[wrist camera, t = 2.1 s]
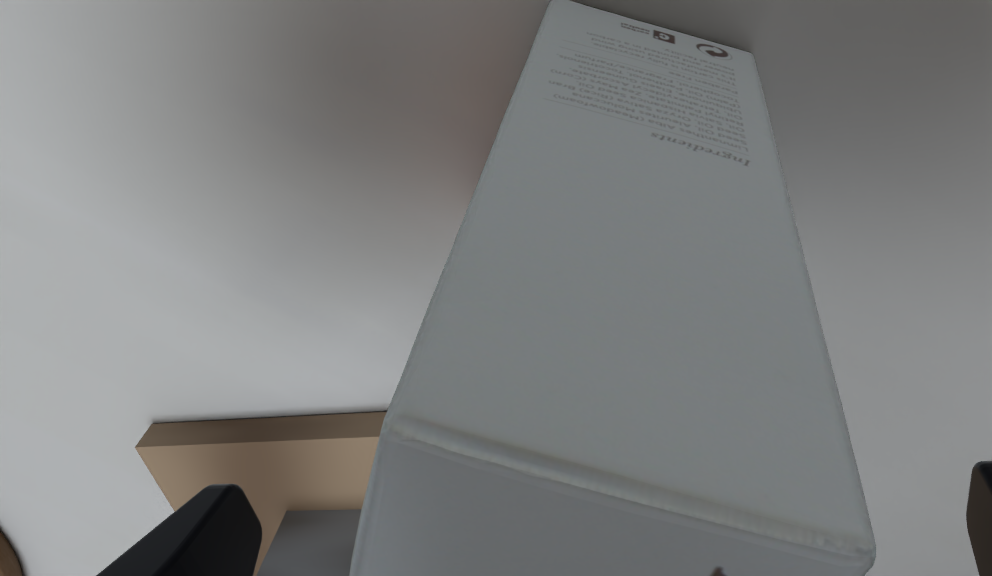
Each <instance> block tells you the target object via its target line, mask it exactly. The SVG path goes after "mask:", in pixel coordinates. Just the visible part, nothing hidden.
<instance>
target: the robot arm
mask: <svg viewBox="0 0 992 576" xmlns="http://www.w3.org/2000/svg"><path fill="white" fill-rule="evenodd" d="M966 520H967V528H968V533H969V537H970V541H971V545H972V549H973V553H974V556H975V560H976V564H977V568H978V572H979V575H980V576H992V461H981V462H978V463H976V464H975V465H974V467H973V469H972V474H971V482H970V489H969V496H968V504H967V512H966ZM261 541H262V527H261V523H260V520H259V519H258V517H257V515H256V513H255V511H254V509H253V508H252V506H251V504H250V502H249V500H248V498H247V496H246V495H245V493H244V491H243V489H242V488H241V487H240V486H238V485H237V484H212V485H209V486H206V487H205V488H204V489H202V490H201V491H200V492H198V493H197V494H196V495H195V496H194V497H192V498H191V499H190V500H189V501H187V502H186V503H185V504H184V505H183V506H181V507H180V508H179V509H178V510H176V511H175V512H174V513H173V514H171V515H170V516H169V517H168V518H167V519H165V520H164V521H163V522H162V523H160V524H159V525H158V526H157V527H155V528H154V529H153V530H152V531H151V532H149V533H148V534H147V535H146V536H144V537H143V538H142V539H141V540H140V541H138V542H137V543H136V544H135V545H133V546H132V547H131V548H130V549H128V550H127V551H126V552H125V553H124V554H122V555H121V556H120V557H119V558H117V559H116V560H115V561H114V562H112V563H111V564H110V565H109V566H108V567H106V568H105V569H104V570H103V571H101V572H100V573H99V574H98V575H97V576H253V574H254V570H255V566H256V562H257V558H258V554H259V550H260V546H261Z"/></svg>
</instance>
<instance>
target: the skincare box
mask: <svg viewBox="0 0 992 576" xmlns="http://www.w3.org/2000/svg"><path fill="white" fill-rule="evenodd" d="M875 557H876V543H875V539H874V535H873V531H872V527H871V523H870V518H869V514H868V510H867V505H866V501H865V497H864V493H863V489H862V485H861V481H860V477H859V473H858V469H857V465H856V461H855V457H854V453H853V449H852V445H851V441H850V437H849V432H848V428H847V424H846V420H845V416H844V412H843V408H842V404H841V400H840V396H839V392H838V388H837V385H836V381H835V377H834V373H833V369H832V365H831V362H830V358H829V354H828V350H827V346H826V342H825V338H824V334H823V330H822V326H821V322H820V318H819V315H818V311H817V308H816V303H815V299H814V295H813V291H812V286H811V282H810V278H809V274H808V270H807V267H806V263H805V259H804V254H803V250H802V246H801V243H800V239H799V235H798V231H797V227H796V223H795V218H794V214H793V210H792V206H791V202H790V198H789V194H788V190H787V187H786V183H785V179H784V175H783V171H782V167H781V163H780V159H779V154H778V151H777V146H776V142H775V138H774V134H773V130H772V126H771V121H770V117H769V113H768V109H767V105H766V101H765V97H764V93H763V89H762V85H761V81H760V78H759V74H758V70H757V66H756V62H755V58H754V55H753V54H751V53H750V52H746V51H742V50H739V49H735V48H732V47H728V46H725V45H721V44H718V43H714V42H711V41H707V40H704V39H700V38H697V37H694V36H690V35H687V34H683V33H680V32H676V31H673V30H669V29H666V28H662V27H659V26H655V25H652V24H648V23H644V22H641V21H637V20H633V19H630V18H627V17H624V16H620V15H617V14H614V13H610V12H607V11H603V10H599V9H596V8H592V7H589V6H586V5H583V4H580V3H576V2H573V1H570V0H551V1H550V3H549V4H548V7H547V10H546V12H545V15H544V17H543V20H542V22H541V25H540V27H539V30H538V32H537V35H536V38H535V40H534V43H533V45H532V48H531V51H530V53H529V56H528V59H527V62H526V64H525V67H524V69H523V71H522V73H521V76H520V78H519V81H518V83H517V86H516V88H515V91H514V93H513V96H512V98H511V100H510V102H509V105H508V107H507V110H506V112H505V115H504V117H503V120H502V123H501V125H500V128H499V131H498V133H497V136H496V138H495V141H494V144H493V146H492V149H491V151H490V154H489V156H488V159H487V161H486V164H485V166H484V169H483V171H482V174H481V176H480V179H479V182H478V184H477V187H476V189H475V192H474V194H473V197H472V199H471V201H470V204H469V206H468V209H467V212H466V214H465V217H464V219H463V222H462V224H461V227H460V229H459V232H458V234H457V236H456V239H455V242H454V244H453V247H452V250H451V252H450V255H449V257H448V259H447V262H446V264H445V266H444V269H443V271H442V274H441V276H440V279H439V281H438V284H437V286H436V289H435V291H434V294H433V296H432V299H431V301H430V304H429V306H428V309H427V311H426V314H425V317H424V319H423V322H422V324H421V327H420V329H419V332H418V334H417V337H416V340H415V342H414V345H413V347H412V350H411V353H410V355H409V358H408V361H407V363H406V366H405V369H404V371H403V374H402V376H401V379H400V381H399V384H398V386H397V389H396V391H395V394H394V396H393V398H392V401H391V403H390V406H389V408H388V410H387V413H386V415H385V418H384V421H383V425H382V429H381V433H380V437H379V441H378V445H377V449H376V453H375V457H374V461H373V465H372V469H371V473H370V477H369V481H368V485H367V489H366V493H365V498H364V502H363V506H362V510H361V515H360V520H359V525H358V530H357V535H356V540H355V545H354V550H353V555H352V560H351V567H350V574H349V576H864V575H865V574H866V573H867V572H868V571H869V569H870V568H871V567H872V566H873V564H874V561H875Z"/></svg>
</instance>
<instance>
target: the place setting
mask: <svg viewBox="0 0 992 576" xmlns="http://www.w3.org/2000/svg"><path fill="white" fill-rule="evenodd" d="M0 576H22V571H21V567H20V564H19V562H18V559H17V557H16V555H15V553H14V551H13V549H12V548H11V546H10V544H9V543H8V541H7V539H6V538H5V537H4V535H3V534H2V533H1V532H0Z"/></svg>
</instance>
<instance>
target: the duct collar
mask: <svg viewBox="0 0 992 576" xmlns="http://www.w3.org/2000/svg"><path fill="white" fill-rule="evenodd" d="M386 413H387V412H372V413H353V414H333V415H314V416H295V417H276V418H256V419H237V420H218V421H198V422H179V423H160V424H151V426H150V427H149V428H148V430H147V431H146V433H145V434H144V435H143V437H142V438H141V440H140V441H139V442H138V444H137V445H136V447H135V448H136V450H137V452H138V453H139V455H140V456H141V458H142V460H143V461H144V463H145V464H146V466H147V468H148V469H149V471H150V472H151V474H152V476H153V477H154V479H155V481H156V482H157V484H158V485H159V487H160V489H161V490H162V492H163V493H164V495H165V497H166V498H167V500H168V501H169V503H170V505H171V506H172V508H173V509H174V511H176V510H178V509H179V508H180V507H181V506H183V505H184V504H185V503H186V502H187V501H189V500H190V499H191V498H192V497H194V496H195V495H196V494H197V493H198V492H200V491H201V490H202V489H204V488H205V487H206V486H209V485H212V484H237V485H238V486H240V487H241V488H242V489H243V491H244V493H245V495H246V496H247V498H248V500H249V502H250V504H251V506H252V508H253V509H254V511H255V513H256V515H257V517H258V519H259V520H260V523H261V527H262V541H261V546H260V550H259V554H258V558H257V562H256V566H255V570H254V574H253V576H349V574H350V567H351V560H352V555H353V550H354V545H355V540H356V535H357V530H358V525H359V520H360V515H361V510H362V506H363V502H364V498H365V493H366V489H367V485H368V481H369V477H370V473H371V469H372V465H373V461H374V457H375V453H376V449H377V445H378V441H379V437H380V433H381V429H382V425H383V421H384V418H385V415H386Z"/></svg>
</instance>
